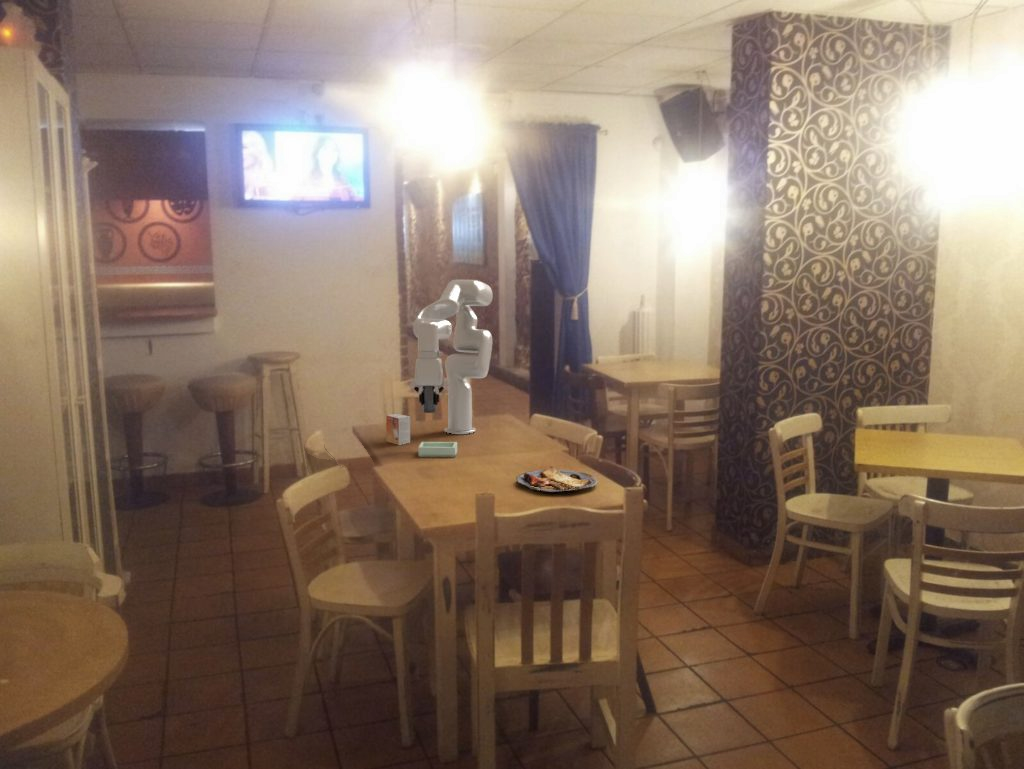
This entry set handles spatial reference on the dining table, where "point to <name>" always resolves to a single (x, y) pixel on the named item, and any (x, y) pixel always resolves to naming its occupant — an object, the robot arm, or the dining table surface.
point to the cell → (429, 399)
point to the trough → (437, 449)
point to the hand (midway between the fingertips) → (429, 403)
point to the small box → (398, 429)
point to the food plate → (556, 479)
